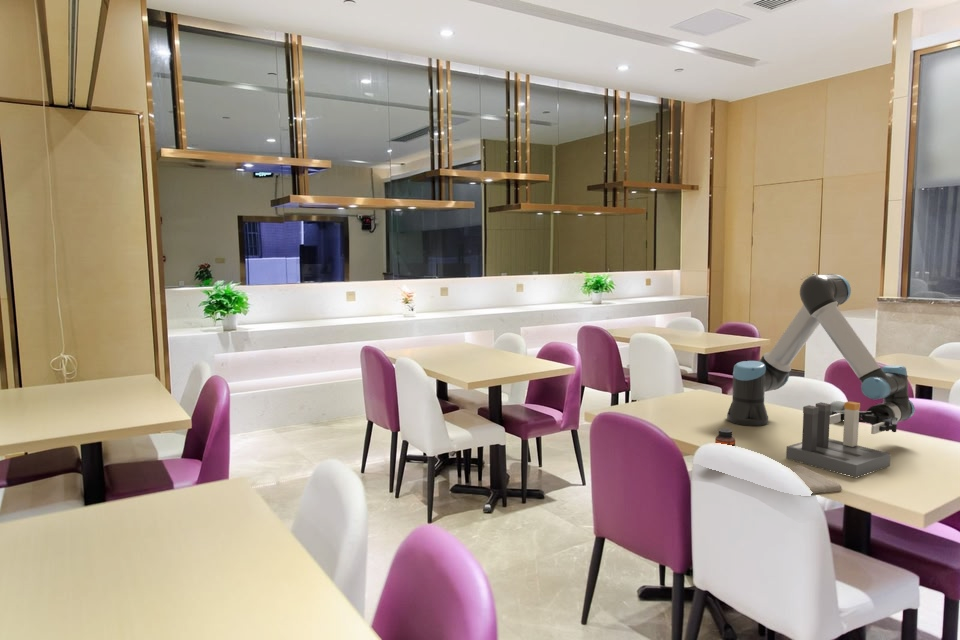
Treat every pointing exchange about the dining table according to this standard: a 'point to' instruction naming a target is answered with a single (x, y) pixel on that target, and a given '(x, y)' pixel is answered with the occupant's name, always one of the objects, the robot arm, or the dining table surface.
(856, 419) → the handle
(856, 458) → the grey peg stand
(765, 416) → the robot arm
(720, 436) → the supplement bottle
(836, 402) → the ceramic mug
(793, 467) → the washcloth
